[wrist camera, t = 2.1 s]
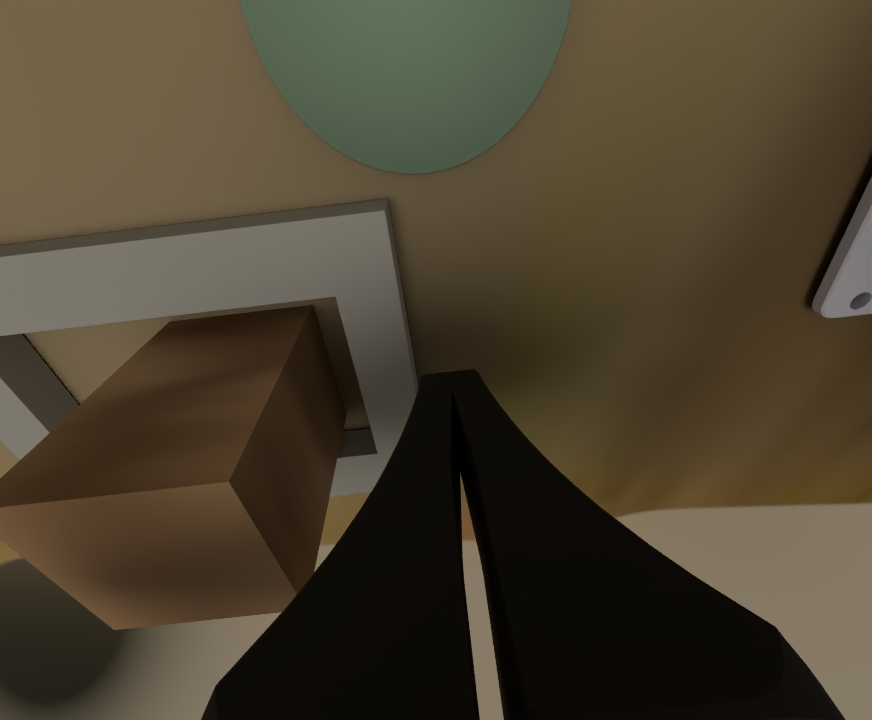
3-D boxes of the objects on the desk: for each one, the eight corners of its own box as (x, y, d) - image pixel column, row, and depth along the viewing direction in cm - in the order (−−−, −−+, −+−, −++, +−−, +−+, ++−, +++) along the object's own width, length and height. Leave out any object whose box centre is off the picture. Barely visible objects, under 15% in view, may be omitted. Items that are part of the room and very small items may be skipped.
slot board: (387, 198, 9) (384, 210, 8) (429, 458, 14) (431, 485, 13) (-105, 258, 10) (-166, 277, 9) (106, 494, 15) (84, 523, 14)
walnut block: (313, 304, 11) (228, 481, 6) (346, 413, 13) (306, 609, 8) (169, 321, 11) (-35, 511, 6) (227, 427, 13) (114, 629, 8)
